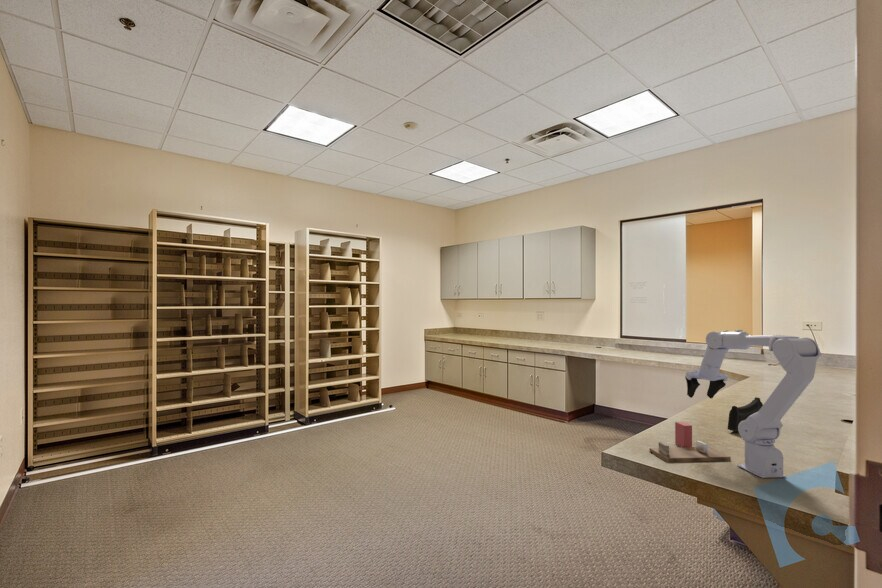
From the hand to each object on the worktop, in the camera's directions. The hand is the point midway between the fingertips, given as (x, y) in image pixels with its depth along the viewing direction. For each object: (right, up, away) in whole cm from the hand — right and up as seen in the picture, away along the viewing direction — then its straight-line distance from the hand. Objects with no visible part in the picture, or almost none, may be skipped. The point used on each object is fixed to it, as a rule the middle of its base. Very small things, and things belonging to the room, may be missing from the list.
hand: (699, 396), depth 155 cm
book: (-5, -18, +1) cm, 19 cm away
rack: (-9, -18, -10) cm, 22 cm away
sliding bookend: (-5, -16, -9) cm, 19 cm away
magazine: (+35, -19, +26) cm, 48 cm away
